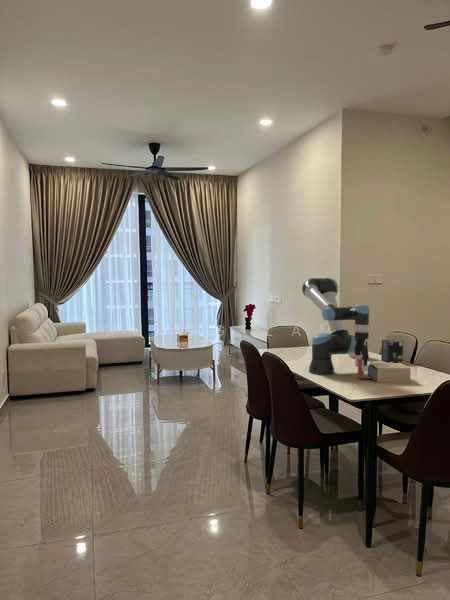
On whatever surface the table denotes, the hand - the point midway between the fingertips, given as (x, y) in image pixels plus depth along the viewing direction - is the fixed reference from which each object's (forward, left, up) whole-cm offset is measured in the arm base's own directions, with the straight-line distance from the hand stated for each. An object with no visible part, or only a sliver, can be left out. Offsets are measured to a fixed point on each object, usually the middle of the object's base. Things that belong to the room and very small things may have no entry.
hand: (361, 368), depth 252 cm
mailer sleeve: (+16, 0, -6) cm, 17 cm away
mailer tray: (+10, 0, -5) cm, 12 cm away
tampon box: (+36, +53, -6) cm, 64 cm away
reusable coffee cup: (+15, +69, -6) cm, 71 cm away
